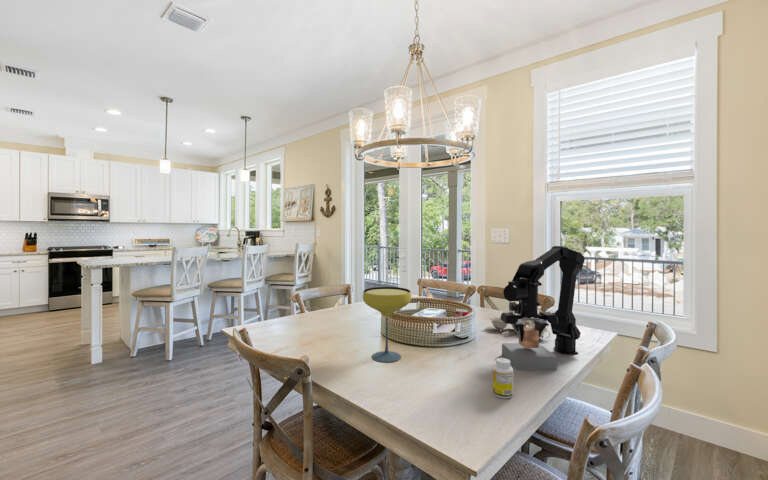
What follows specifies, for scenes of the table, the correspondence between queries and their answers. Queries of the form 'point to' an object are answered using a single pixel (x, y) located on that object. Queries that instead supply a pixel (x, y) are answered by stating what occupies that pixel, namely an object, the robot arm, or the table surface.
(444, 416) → the table surface
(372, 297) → the cocktail glass
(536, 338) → the terracotta cube
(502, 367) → the supplement bottle
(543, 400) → the table surface
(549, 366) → the gray block
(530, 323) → the chinaware
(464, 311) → the soda can
